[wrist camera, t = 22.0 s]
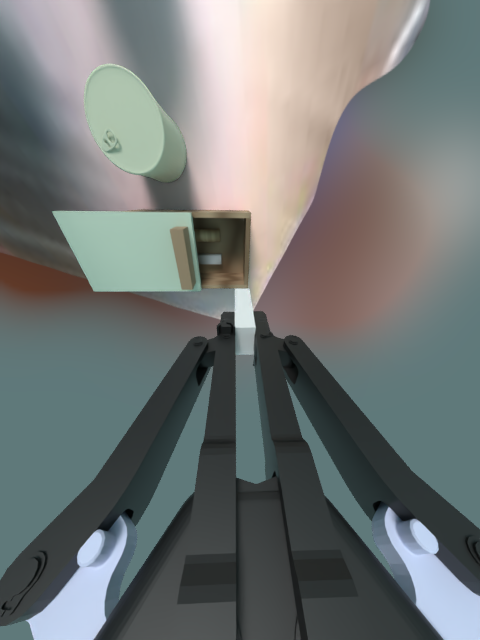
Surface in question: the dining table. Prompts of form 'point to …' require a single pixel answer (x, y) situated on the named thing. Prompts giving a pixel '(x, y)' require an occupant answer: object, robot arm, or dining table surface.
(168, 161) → the can
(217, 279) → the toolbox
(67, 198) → the dining table surface
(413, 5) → the dining table surface
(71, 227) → the lid
